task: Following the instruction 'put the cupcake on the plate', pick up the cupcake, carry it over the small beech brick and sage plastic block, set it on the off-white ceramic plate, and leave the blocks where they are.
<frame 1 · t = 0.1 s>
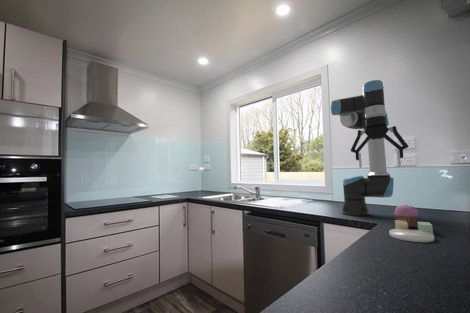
hand: (379, 167, 94), 28 cm above the worktop, tool pointing down, fingers open, 13 cm apart
plate: (410, 236, 89), on the worktop
sage block: (425, 233, 94), on the worktop
cupcake: (407, 226, 105), on the worktop
beech brick: (401, 231, 98), on the worktop
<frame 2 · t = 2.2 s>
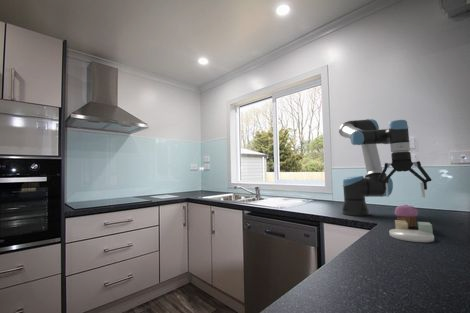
hand: (404, 196, 106), 14 cm above the worktop, tool pointing down, fingers open, 13 cm apart
nothing on the worktop moved.
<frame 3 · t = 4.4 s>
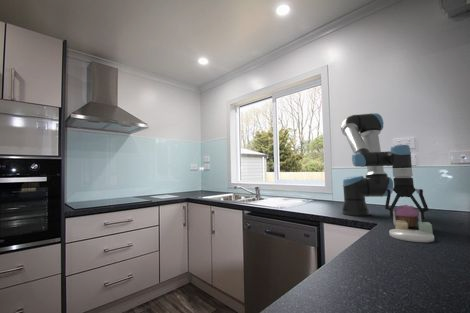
hand: (407, 225, 105), 0 cm above the worktop, tool pointing down, fingers closed on cupcake, 9 cm apart
cupcake: (407, 226, 105), on the worktop, touching gripper
everything else where it was.
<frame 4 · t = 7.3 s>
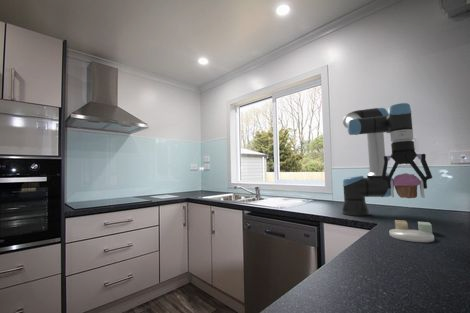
hand: (407, 196, 90), 16 cm above the worktop, tool pointing down, fingers closed on cupcake, 9 cm apart
cupcake: (407, 198, 90), point 15 cm above the worktop, touching gripper
everything else where it was.
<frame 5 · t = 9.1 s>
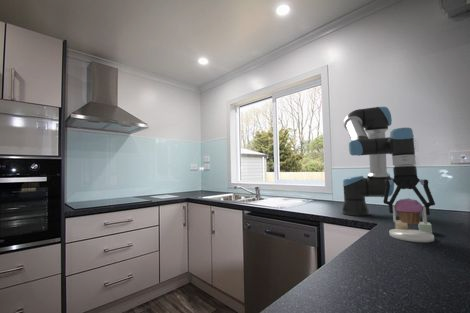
hand: (409, 222, 89), 6 cm above the worktop, tool pointing down, fingers closed on cupcake, 9 cm apart
cupcake: (409, 224, 89), point 5 cm above the worktop, touching gripper
everything else where it was.
when the fingers open (3 cm above the worktop, at t = 10.5 s): cupcake drops 1 cm, resting on plate.
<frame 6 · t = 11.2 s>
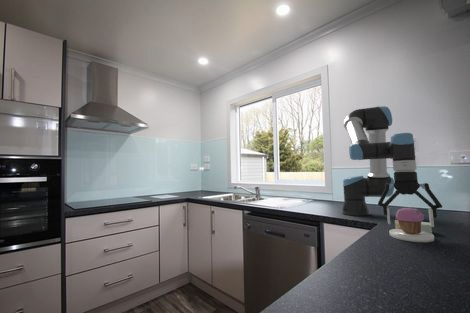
hand: (409, 224, 89), 5 cm above the worktop, tool pointing down, fingers open, 13 cm apart
cupcake: (410, 233, 89), point 1 cm above the worktop, touching plate
everything else where it was.
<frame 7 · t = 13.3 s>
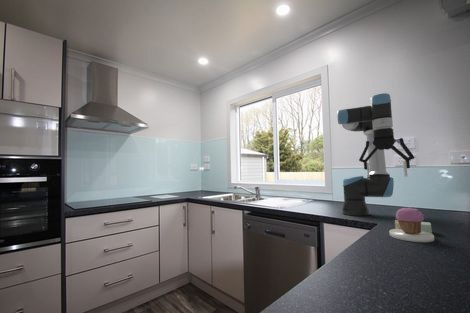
hand: (386, 176, 99), 24 cm above the worktop, tool pointing down, fingers open, 13 cm apart
nothing on the worktop moved.
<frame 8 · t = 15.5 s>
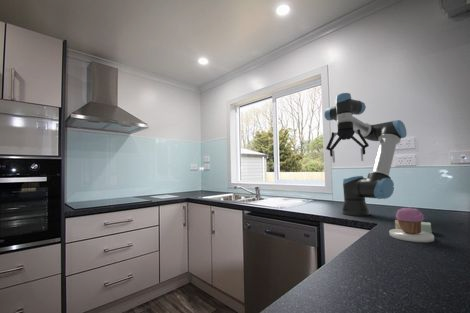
hand: (347, 161, 119), 32 cm above the worktop, tool pointing down, fingers open, 13 cm apart
nothing on the worktop moved.
at the end: cupcake inside the target area on the plate (0.1 cm from its centre), point 1.3 cm above the plate's base; beech brick moved 0.2 cm from its start; sage block moved 0.2 cm from its start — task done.
